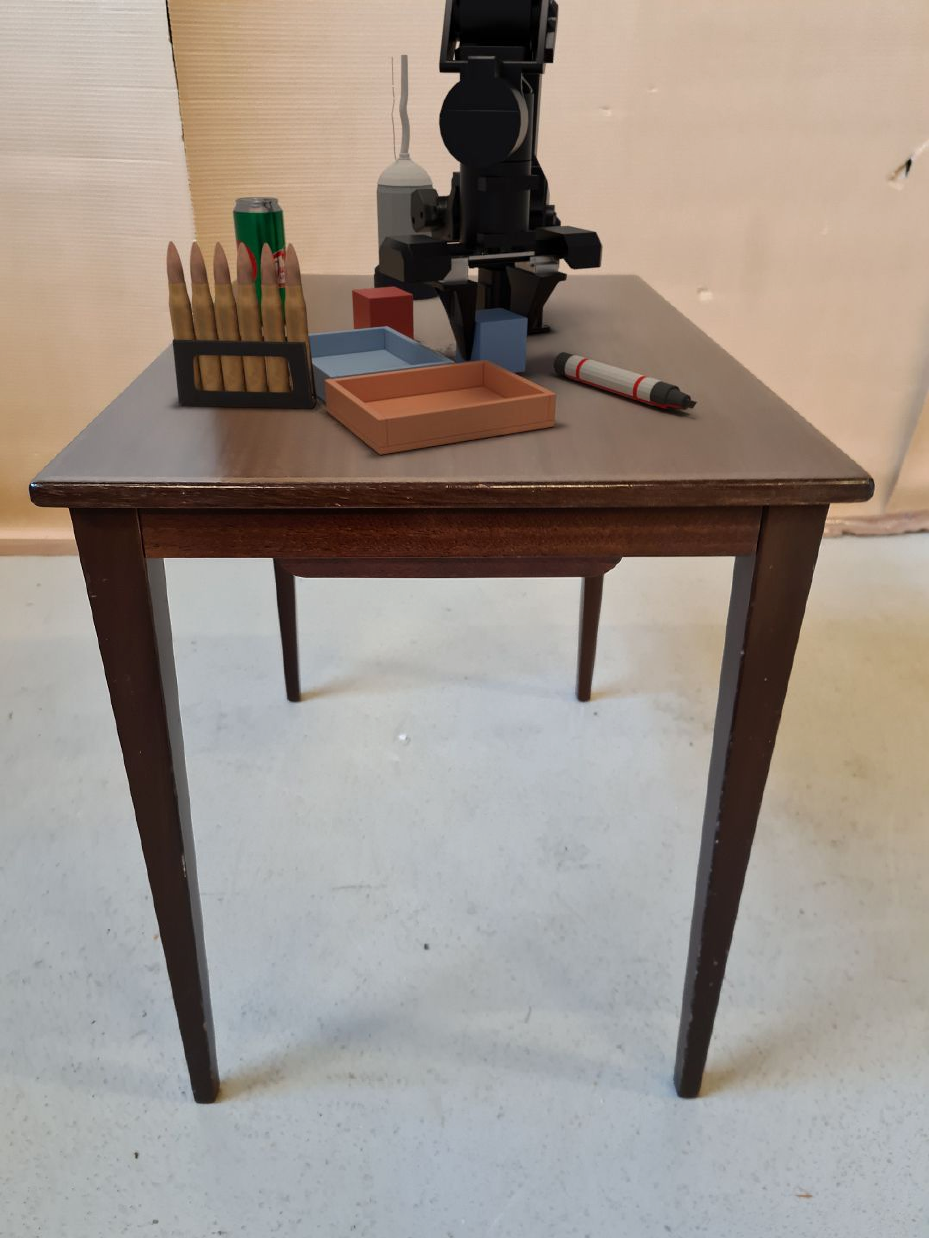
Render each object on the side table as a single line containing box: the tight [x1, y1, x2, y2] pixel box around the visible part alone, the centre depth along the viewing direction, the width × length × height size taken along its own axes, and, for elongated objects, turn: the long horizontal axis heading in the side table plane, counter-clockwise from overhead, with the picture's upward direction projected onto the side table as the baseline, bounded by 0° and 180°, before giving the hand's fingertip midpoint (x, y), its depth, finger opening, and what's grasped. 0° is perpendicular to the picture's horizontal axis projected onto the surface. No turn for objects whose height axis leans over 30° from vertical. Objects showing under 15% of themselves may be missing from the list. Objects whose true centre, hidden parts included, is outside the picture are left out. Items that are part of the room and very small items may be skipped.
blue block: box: [455, 308, 528, 374], centre depth 79 cm, size 5×5×5 cm
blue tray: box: [285, 326, 456, 403], centre depth 78 cm, size 11×14×2 cm
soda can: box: [232, 196, 287, 326], centre depth 94 cm, size 5×5×12 cm
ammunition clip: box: [166, 240, 318, 409], centre depth 69 cm, size 11×2×12 cm, turn 88°
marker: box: [552, 351, 698, 411], centre depth 74 cm, size 15×2×2 cm, turn 37°
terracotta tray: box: [325, 360, 557, 455], centre depth 68 cm, size 14×11×2 cm
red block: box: [351, 287, 415, 341], centre depth 89 cm, size 5×5×5 cm
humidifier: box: [373, 54, 439, 301], centre depth 105 cm, size 8×8×25 cm
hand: (490, 356), depth 80 cm, fingers closed on blue block, 4 cm apart
